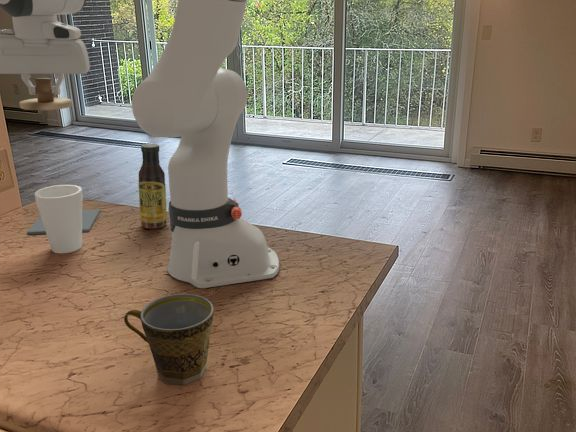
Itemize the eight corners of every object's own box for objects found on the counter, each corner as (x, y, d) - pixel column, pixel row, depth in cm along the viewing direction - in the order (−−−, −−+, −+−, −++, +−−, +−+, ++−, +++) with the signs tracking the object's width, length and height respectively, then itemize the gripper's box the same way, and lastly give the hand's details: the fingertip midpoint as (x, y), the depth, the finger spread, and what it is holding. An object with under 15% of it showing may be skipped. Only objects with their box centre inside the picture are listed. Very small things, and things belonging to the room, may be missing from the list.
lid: (77, 101, 131) (74, 75, 129) (66, 110, 121) (62, 82, 119) (28, 101, 130) (24, 75, 128) (13, 110, 120) (8, 82, 118)
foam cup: (79, 256, 118) (71, 198, 113) (36, 256, 118) (26, 198, 113) (95, 239, 127) (87, 184, 122) (54, 238, 127) (46, 184, 122)
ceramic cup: (224, 354, 84) (221, 296, 81) (204, 397, 75) (200, 333, 72) (143, 346, 86) (137, 289, 83) (114, 387, 77) (106, 324, 74)
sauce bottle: (138, 230, 132) (130, 148, 125) (144, 220, 137) (136, 142, 130) (166, 230, 132) (159, 148, 125) (170, 220, 137) (164, 142, 131)
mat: (100, 211, 144) (100, 209, 144) (89, 231, 131) (89, 229, 131) (44, 213, 142) (43, 211, 142) (27, 234, 129) (26, 231, 129)
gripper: (-21, 29, 116) (-9, 96, 120) (81, 31, 118) (88, 96, 123) (-10, 28, 121) (1, 92, 126) (87, 29, 124) (94, 92, 129)
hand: (45, 94), depth 125 cm, fingers closed on lid, 3 cm apart
